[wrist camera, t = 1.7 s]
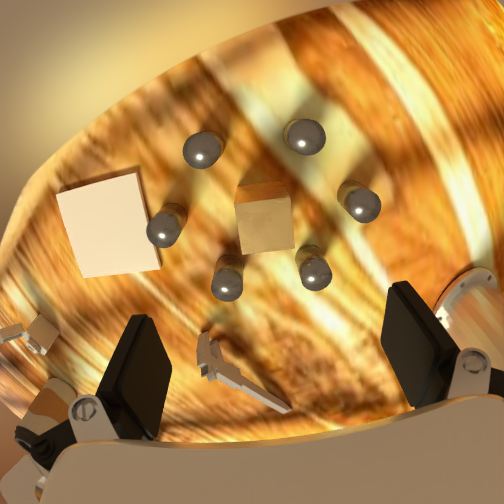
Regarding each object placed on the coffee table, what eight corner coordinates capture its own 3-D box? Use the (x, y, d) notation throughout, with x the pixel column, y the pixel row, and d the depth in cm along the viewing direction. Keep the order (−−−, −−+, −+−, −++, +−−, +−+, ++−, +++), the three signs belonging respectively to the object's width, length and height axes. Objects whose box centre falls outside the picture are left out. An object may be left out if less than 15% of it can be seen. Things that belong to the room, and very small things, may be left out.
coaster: (137, 171, 25) (135, 172, 25) (161, 266, 29) (160, 269, 29) (58, 193, 26) (55, 194, 25) (85, 275, 30) (83, 278, 29)
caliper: (199, 331, 33) (191, 370, 28) (206, 327, 33) (199, 366, 28) (286, 409, 41) (289, 442, 35) (292, 407, 40) (296, 440, 35)
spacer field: (360, 116, 23) (377, 117, 20) (363, 262, 29) (377, 281, 26) (143, 144, 24) (126, 149, 20) (177, 285, 30) (168, 307, 27)
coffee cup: (56, 397, 42) (29, 455, 28) (37, 368, 38) (3, 429, 25) (89, 406, 42) (64, 470, 28) (71, 377, 38) (38, 446, 25)
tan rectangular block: (281, 180, 26) (290, 197, 20) (285, 221, 28) (294, 248, 22) (237, 186, 26) (233, 204, 21) (243, 227, 28) (242, 254, 22)
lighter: (60, 332, 34) (35, 369, 27) (56, 337, 34) (32, 374, 27) (26, 298, 32) (-4, 332, 24) (23, 304, 32) (-6, 337, 25)
